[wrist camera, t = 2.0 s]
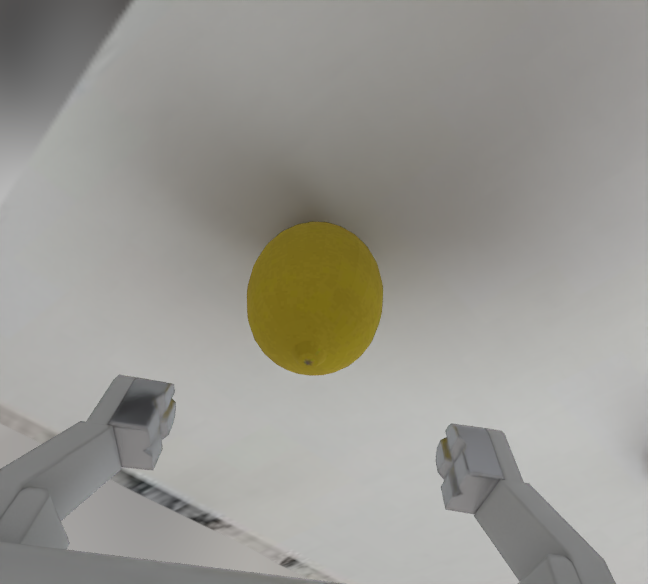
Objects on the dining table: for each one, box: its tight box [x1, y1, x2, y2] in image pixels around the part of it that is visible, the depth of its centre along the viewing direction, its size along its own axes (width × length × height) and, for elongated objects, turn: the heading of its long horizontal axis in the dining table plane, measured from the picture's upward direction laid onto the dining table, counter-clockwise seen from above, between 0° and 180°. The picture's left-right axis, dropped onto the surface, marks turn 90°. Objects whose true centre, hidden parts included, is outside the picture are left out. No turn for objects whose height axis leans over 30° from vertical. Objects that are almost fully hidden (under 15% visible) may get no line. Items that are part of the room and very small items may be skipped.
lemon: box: [247, 222, 383, 375], centre depth 17 cm, size 6×6×8 cm
